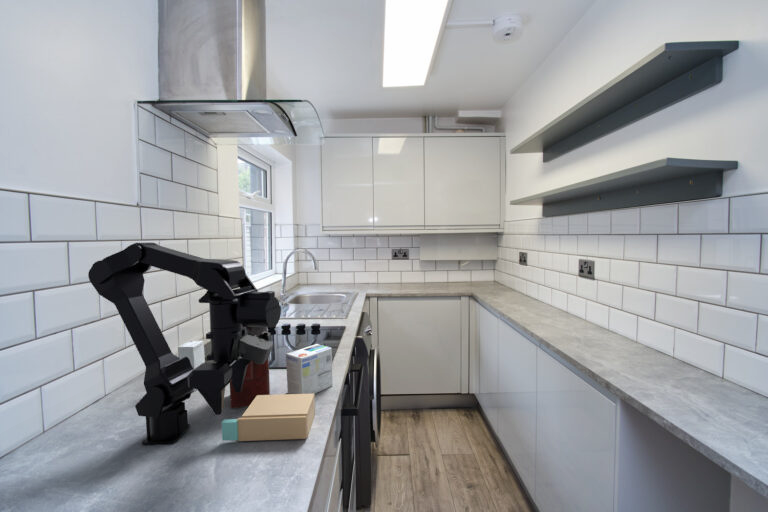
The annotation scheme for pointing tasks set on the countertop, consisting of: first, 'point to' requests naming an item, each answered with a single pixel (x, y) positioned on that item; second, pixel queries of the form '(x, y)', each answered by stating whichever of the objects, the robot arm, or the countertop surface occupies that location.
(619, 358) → the countertop surface
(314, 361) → the light bulb box
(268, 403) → the kraft carton
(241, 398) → the toy vending machine
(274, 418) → the carton flap
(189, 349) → the skincare box
